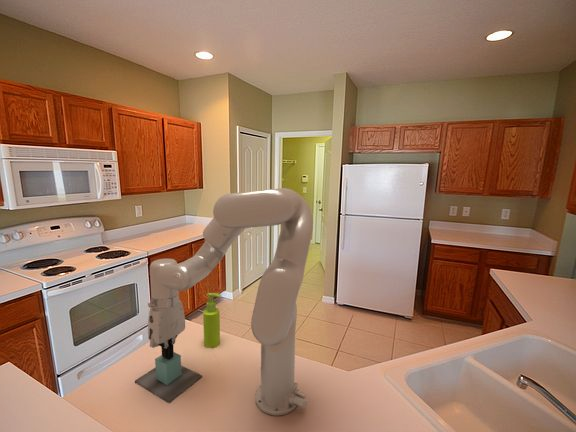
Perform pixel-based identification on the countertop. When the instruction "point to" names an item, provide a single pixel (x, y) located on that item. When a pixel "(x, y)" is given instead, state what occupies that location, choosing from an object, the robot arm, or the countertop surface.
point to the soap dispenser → (211, 322)
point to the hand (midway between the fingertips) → (167, 356)
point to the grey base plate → (171, 389)
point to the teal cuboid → (168, 368)
